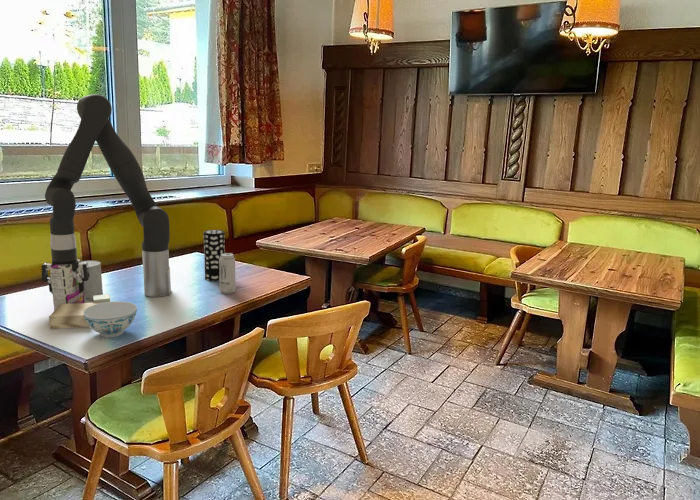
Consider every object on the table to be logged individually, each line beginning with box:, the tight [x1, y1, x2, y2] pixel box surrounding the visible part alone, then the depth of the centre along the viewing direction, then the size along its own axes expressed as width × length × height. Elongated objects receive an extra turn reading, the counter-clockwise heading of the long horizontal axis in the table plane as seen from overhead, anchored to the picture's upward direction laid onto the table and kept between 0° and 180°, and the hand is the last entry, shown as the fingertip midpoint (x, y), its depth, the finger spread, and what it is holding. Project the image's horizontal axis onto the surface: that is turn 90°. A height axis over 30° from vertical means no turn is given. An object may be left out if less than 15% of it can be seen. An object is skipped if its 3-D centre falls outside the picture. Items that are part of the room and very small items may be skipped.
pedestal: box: [48, 302, 100, 330], centre depth 171 cm, size 12×12×4 cm
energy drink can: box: [218, 252, 236, 295], centre depth 204 cm, size 6×6×15 cm
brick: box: [92, 293, 111, 303], centre depth 181 cm, size 5×5×5 cm
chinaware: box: [83, 301, 138, 338], centre depth 162 cm, size 15×15×8 cm
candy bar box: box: [49, 258, 86, 312], centre depth 179 cm, size 11×5×16 cm, turn 179°
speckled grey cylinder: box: [80, 259, 104, 301], centre depth 194 cm, size 10×10×12 cm
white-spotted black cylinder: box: [203, 229, 226, 282], centre depth 220 cm, size 8×8×20 cm
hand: (67, 292), depth 180 cm, fingers open, 8 cm apart
